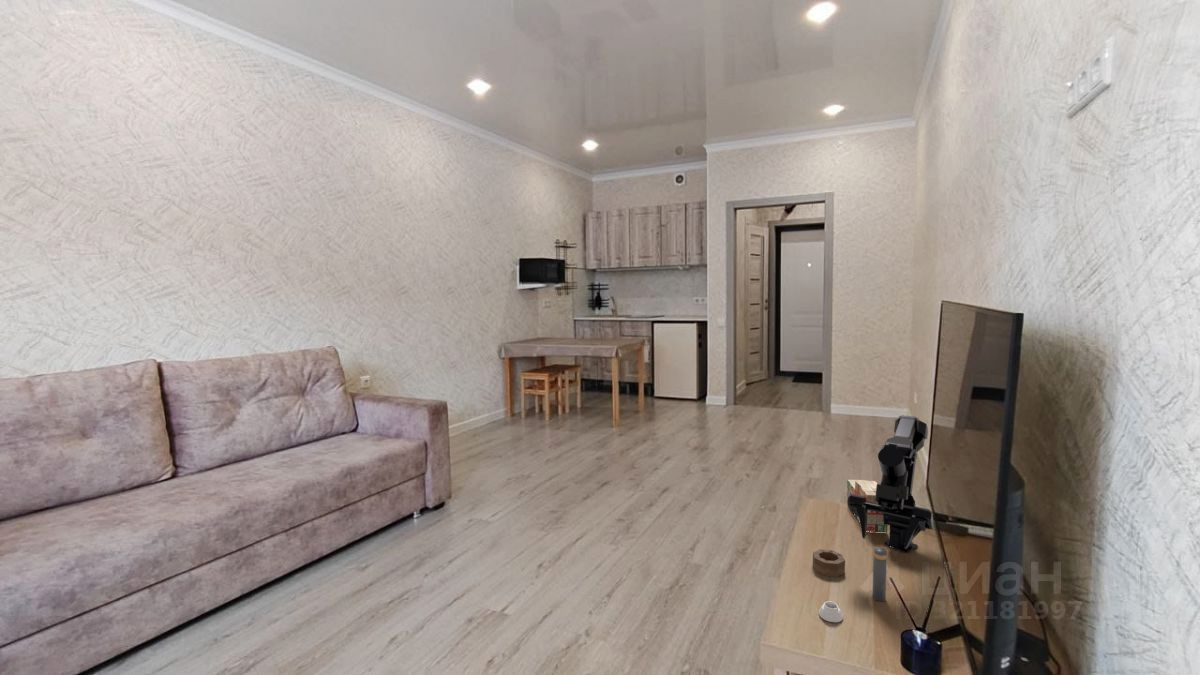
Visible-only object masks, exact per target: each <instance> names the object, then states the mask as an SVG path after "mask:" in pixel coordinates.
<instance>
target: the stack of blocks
mask: <svg viewBox="0 0 1200 675" xmlns="http://www.w3.org/2000/svg"><path fill="white" fill-rule="evenodd" d="M846 481H847V482H846V488H847V498H848V497H849V496H850V495H851V494H854V495H859V496H864V497H866V500H867V502H869V503H874V504H877V501H876V497H875V496H876V486H877V484H878V483H877V482H876V481H875V480H867V479H847V480H846ZM847 501H848V499H847ZM846 503H847V502H846ZM847 507H848V508H849V506H848V503H847ZM866 514H867V528H866V531H869V532H870V531H871V532H886V533H887V534H888V527H889V525H885V524H884V519H883V513H880V512H875V511H870V510H867V513H866ZM856 517H857V516H856ZM856 517H855V518H856ZM857 518H858V520H859V521H860V519H859V517H857ZM858 520H857V521H858Z"/></svg>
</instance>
